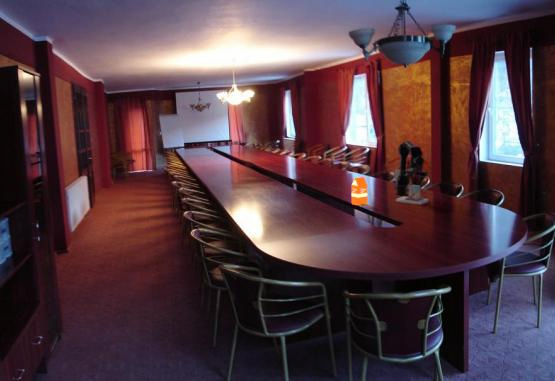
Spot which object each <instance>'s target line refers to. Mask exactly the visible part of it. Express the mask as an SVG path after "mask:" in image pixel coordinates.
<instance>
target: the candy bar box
mask: <svg viewBox="0 0 555 381" xmlns="http://www.w3.org/2000/svg"><path fill="white" fill-rule="evenodd" d="M399 175H400V169H394V177H393V178H394V189H395V190H397V187H396V185H395V184H396V181H397V178H398V176H399ZM398 186H399V185H398ZM409 186H410V184H408V187H406V189H407V190H409Z"/></svg>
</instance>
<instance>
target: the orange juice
mask: <svg viewBox="0 0 555 381" xmlns="http://www.w3.org/2000/svg"><path fill="white" fill-rule="evenodd" d="M367 183H368V182H367V181H366V179H365V177H364V176H360V177H354V178H353V181H352V184H350V185H351V204H352V205H353V206H354V205H355V206H357V205H359V206H362V205H361V204H365V205H368V184H367Z"/></svg>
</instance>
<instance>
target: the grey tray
mask: <svg viewBox="0 0 555 381" xmlns="http://www.w3.org/2000/svg"><path fill="white" fill-rule="evenodd" d="M395 202H397V203H404V204H413V205H424V204H427V203H428V202H429V198H424V197H423V196H422V197H421V196H420V199H409V196H405V195H402V196H400V197H397V198H395Z"/></svg>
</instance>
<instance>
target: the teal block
mask: <svg viewBox="0 0 555 381" xmlns="http://www.w3.org/2000/svg"><path fill="white" fill-rule="evenodd" d="M409 193H415V194H417V193H420V194H421V185H420V184H419V185H417V184H411V185H409V189H408V194H409Z"/></svg>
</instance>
